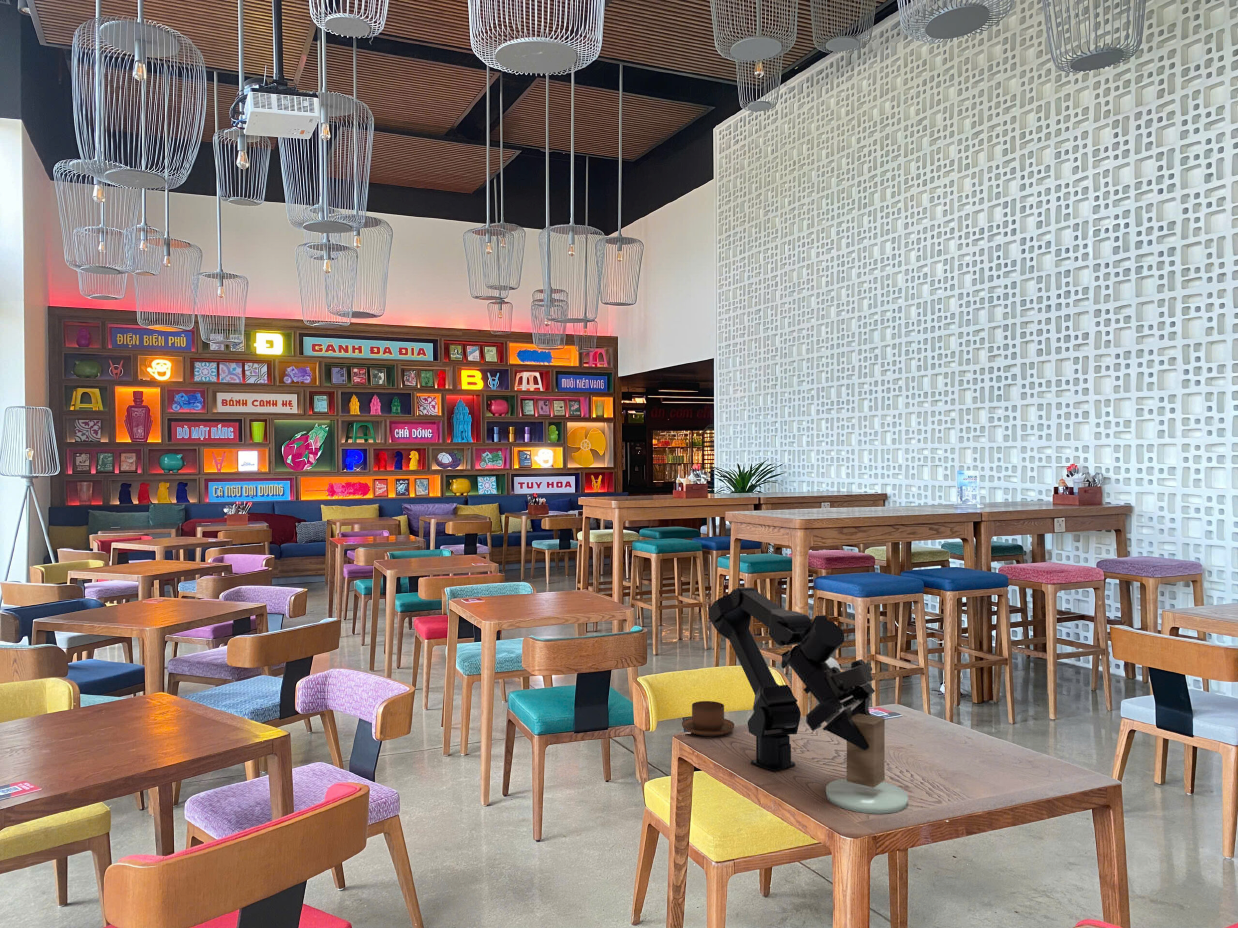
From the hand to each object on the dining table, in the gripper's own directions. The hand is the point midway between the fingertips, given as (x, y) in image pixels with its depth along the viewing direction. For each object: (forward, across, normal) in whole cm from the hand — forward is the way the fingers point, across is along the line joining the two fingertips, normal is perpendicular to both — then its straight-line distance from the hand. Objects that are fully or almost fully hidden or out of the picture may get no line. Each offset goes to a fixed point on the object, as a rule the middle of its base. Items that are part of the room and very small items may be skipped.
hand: (873, 744), depth 147 cm
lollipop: (-13, +43, +27) cm, 53 cm away
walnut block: (+4, 0, +6) cm, 7 cm away
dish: (+6, 0, +8) cm, 10 cm away
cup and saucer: (-25, +17, +40) cm, 50 cm away
